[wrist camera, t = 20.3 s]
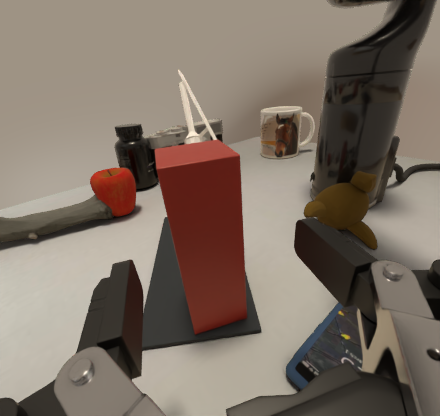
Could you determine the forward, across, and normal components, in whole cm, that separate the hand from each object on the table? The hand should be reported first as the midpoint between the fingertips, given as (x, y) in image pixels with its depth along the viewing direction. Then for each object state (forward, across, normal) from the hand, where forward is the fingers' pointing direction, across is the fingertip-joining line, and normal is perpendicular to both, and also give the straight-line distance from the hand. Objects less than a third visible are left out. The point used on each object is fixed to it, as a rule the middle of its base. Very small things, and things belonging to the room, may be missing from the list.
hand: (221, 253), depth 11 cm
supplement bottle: (+40, +7, +10) cm, 42 cm away
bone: (+28, +22, +11) cm, 37 cm away
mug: (+45, -29, +11) cm, 55 cm away
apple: (+29, +10, +11) cm, 32 cm away
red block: (+6, 0, +10) cm, 12 cm away
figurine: (+13, -20, +7) cm, 25 cm away
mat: (+13, 0, +11) cm, 17 cm away
